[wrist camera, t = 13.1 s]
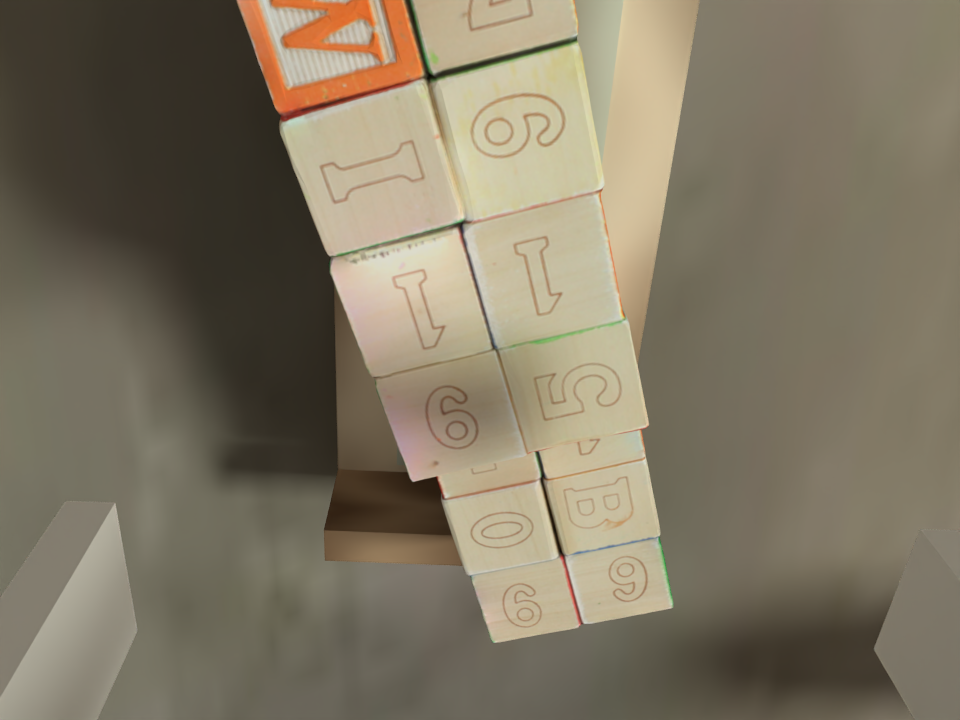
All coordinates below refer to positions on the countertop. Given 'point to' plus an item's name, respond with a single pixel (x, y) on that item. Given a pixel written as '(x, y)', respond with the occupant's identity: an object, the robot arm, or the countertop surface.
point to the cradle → (633, 239)
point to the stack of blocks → (480, 284)
